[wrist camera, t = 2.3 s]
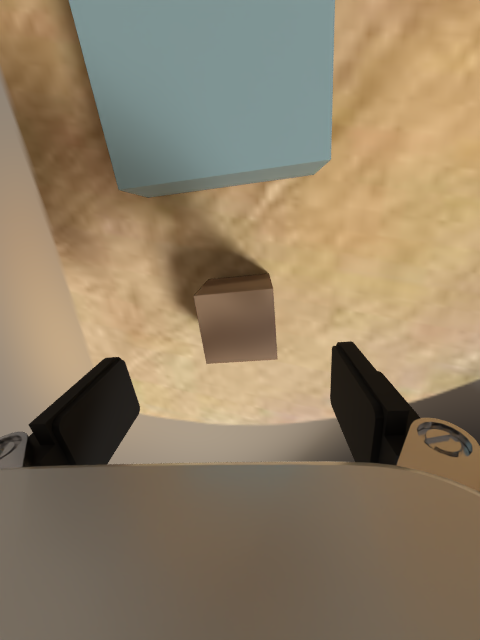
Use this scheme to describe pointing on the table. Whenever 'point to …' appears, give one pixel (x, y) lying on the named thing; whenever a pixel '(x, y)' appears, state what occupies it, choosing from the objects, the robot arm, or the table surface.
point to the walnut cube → (237, 319)
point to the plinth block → (210, 89)
